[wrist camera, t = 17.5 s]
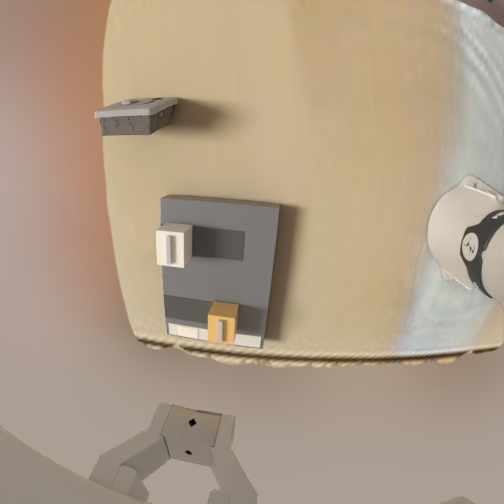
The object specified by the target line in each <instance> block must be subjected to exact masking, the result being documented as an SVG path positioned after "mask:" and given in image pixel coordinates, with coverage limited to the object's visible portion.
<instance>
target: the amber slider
mask: <svg viewBox="0 0 504 504" xmlns="http://www.w3.org/2000/svg"><path fill="white" fill-rule="evenodd" d="M238 310H239V304H232V303H225V302H217V301H213V304H212V306H211V308H210V311H209V313H208V341H210V342H216V343H223V344H230V345H234V341H235V337H236V333H237V325H238Z"/></svg>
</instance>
